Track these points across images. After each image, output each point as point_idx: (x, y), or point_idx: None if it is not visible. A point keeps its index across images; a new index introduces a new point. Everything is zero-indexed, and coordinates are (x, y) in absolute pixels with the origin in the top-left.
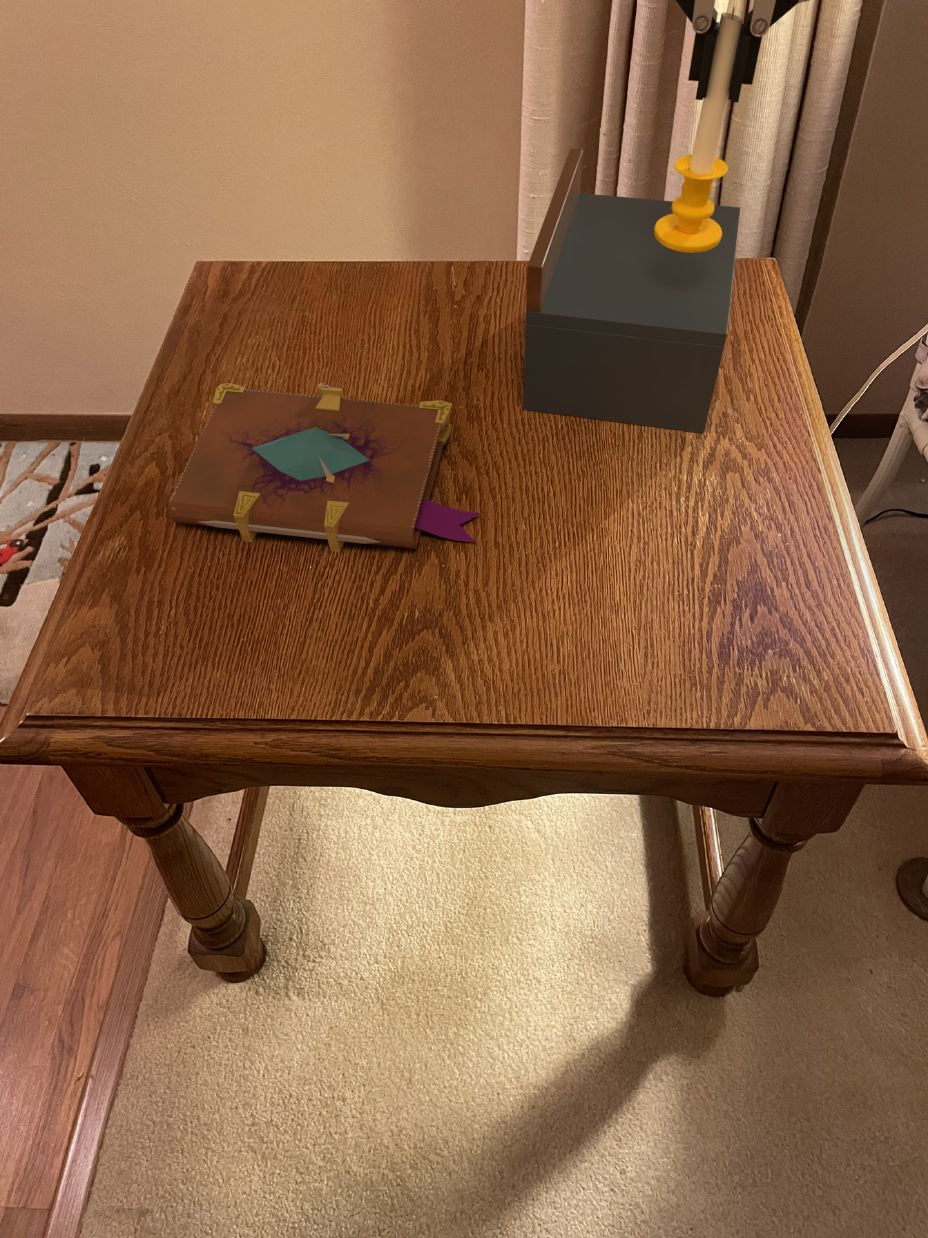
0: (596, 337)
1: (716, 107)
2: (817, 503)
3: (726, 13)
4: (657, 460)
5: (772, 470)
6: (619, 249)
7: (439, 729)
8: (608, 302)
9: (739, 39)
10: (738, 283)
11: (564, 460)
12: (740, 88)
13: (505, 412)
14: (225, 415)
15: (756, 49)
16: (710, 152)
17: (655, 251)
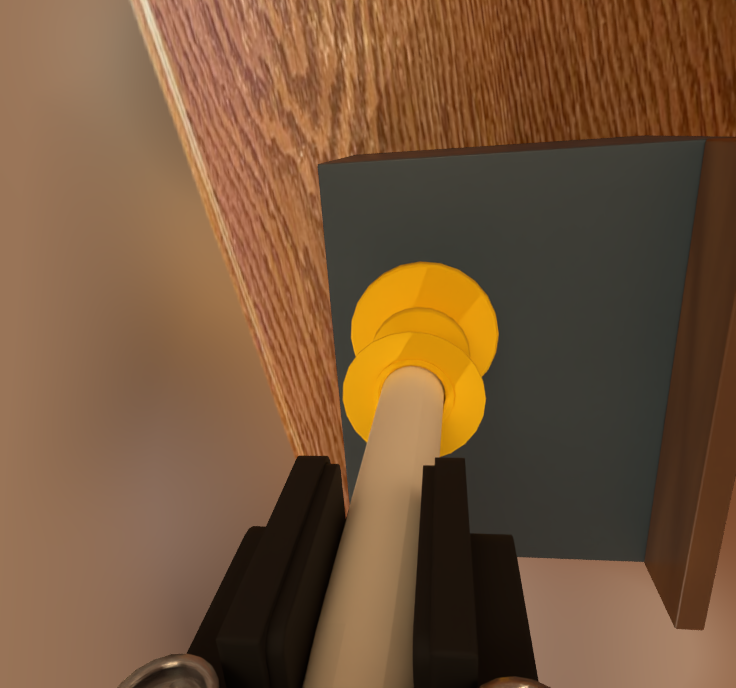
0: (563, 146)
1: (382, 466)
2: (178, 42)
3: None
4: (411, 70)
5: (248, 98)
6: (551, 397)
7: None
8: (556, 214)
9: (287, 650)
10: None
11: (560, 21)
12: (288, 477)
13: (676, 120)
14: None
15: (215, 621)
16: (389, 396)
17: None
